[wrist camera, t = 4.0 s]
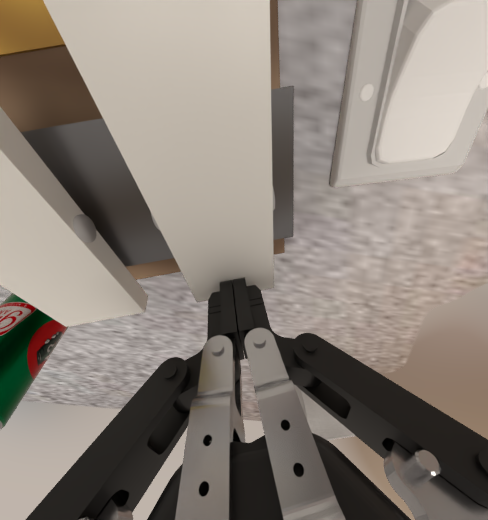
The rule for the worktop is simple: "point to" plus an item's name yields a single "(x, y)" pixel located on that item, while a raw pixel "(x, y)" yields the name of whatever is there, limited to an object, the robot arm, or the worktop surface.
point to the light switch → (411, 90)
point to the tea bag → (321, 419)
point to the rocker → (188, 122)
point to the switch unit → (109, 137)
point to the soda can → (23, 349)
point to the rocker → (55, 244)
